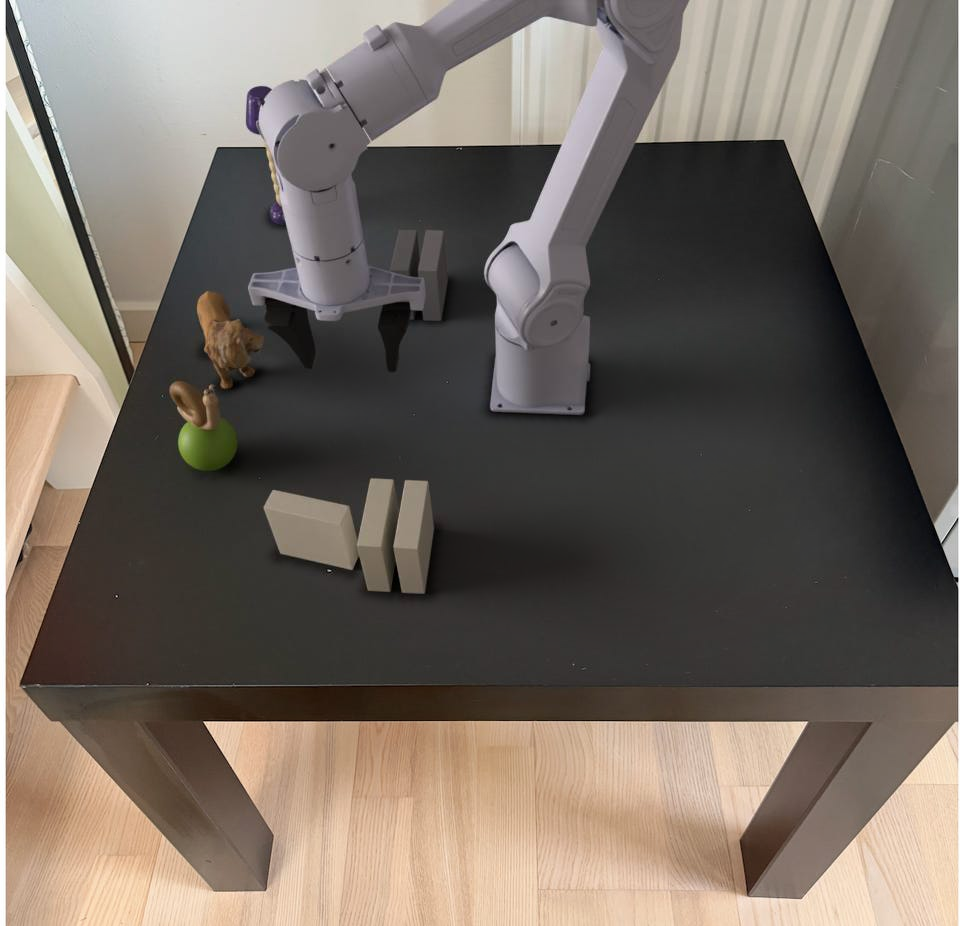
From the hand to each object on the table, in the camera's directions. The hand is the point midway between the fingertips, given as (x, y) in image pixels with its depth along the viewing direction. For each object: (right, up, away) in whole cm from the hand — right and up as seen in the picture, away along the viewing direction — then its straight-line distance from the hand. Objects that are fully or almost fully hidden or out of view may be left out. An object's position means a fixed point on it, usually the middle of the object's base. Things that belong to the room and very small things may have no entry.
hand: (351, 362), depth 82 cm
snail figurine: (-14, -9, +7) cm, 18 cm away
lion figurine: (-15, +2, +16) cm, 22 cm away
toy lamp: (-13, +22, +32) cm, 41 cm away
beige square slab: (-3, -17, -1) cm, 17 cm away
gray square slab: (+7, +9, +21) cm, 24 cm away
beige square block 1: (+3, -18, -1) cm, 18 cm away
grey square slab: (+4, +10, +21) cm, 23 cm away
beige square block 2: (+6, -18, -1) cm, 19 cm away
